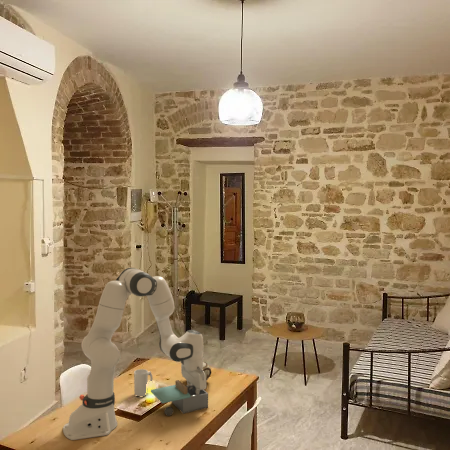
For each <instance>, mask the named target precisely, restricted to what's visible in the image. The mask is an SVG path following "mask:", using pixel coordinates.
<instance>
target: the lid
mask: <svg viewBox="0 0 450 450" xmlns="http://www.w3.org/2000/svg"><path fill="white" fill-rule="evenodd" d="M174 382H175V383H174V384H173V385H167V386H163V387H158V388H154V389H153V388H152V389H150V392H151V394H152V395H153V396H154V397H156V399H158V401H160V403H161V404H166V403H170V402H171V403H172V401H176V400H180V399H185V398H189V397H191V395H190V394H189V393H188V392H187V387H186V386H187V385H185V384H184V383H183V382H182V381H180V380H179V379H177V380H175V381H174Z"/></svg>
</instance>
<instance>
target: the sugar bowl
mask: <svg viewBox="0 0 450 450" xmlns="http://www.w3.org/2000/svg"><path fill="white" fill-rule="evenodd" d="M202 370H203V372H204V373H205V375H206V382H207V381H208V380H209V378H210V377H211V375H212V368H211V367H210V365H209V364H208V363H207V362H206V361H203V368H202Z"/></svg>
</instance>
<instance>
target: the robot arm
mask: <svg viewBox="0 0 450 450" xmlns="http://www.w3.org/2000/svg"><path fill="white" fill-rule="evenodd" d="M131 295H134V296H137V297H146V298H147V301H148V304H149V307H150V310H151V312H152V314H153V317H154V318H155V322H156V327H157V329H158V330H157V331H158V333H159V343H158V346H159V350H160V352H162V353H163V354H164V355H166V356H167V357H168V358H170V359H171V360H172V361H174V362H180V364H181V366H180V367H181V368H180V369H181V372H180V373H181V376H182V377H183V378H184V379H185V381H186V385H188V389H189V390H192V384H193V385H194V386H195V387H196V391H195V395H199V392H200V390H206V389H207V381H206V375H205V373H204V372H203V370H202V368H203V362H204V355H203V352H204V337H203V334H202V332H200V331H198V330H195V329H189V330H187V331H186V332H185V333H184V334H183V335H181V336H180V337H178V336H177V335H176V333H174V331H173V328H172V325H171V320H170V316H171V315H173V314H174V312H175V309H176V307H175V301H174V300H175V299H174V298H173V295H172V291H171V289H170V286H169V284H168V283H167V281H166V279H165V278H164V277H162V276H159V275H155V276H151V274H149V273H147V272H145V271H143V270H142V269H139V268H136V267H127V268H125V269H124V270H122V272H121V273H120V274H119V276H117V278H116V279H115V280H110V281H108V282H107V283H106V284H105V286H104V288H103V291H102V293H101V295H100V299H99V302H98V305H97V309H96V314H95V317H94V320H93V322H92V325H91V328H90V329H89V331H88V333H87V335H86V336H84V337H83V339H82V340H81V350H82V353H83V354H84V355H85V357H87V359H89V360H90V365H91V366H90V370H89V371H90V372H89V374H88V375H87V378H86V385H87V386H86V390H87V392H86V395H84V394H80V396H78V397H79V400H80V401H82V404H81V405H80V406H78V407H77V408H76V409H74V411H72V412H71V413H70V415H69V418H68V423H65V424H64V425H63V427H62V432H63V435H64V436H65V437H66V438H67V439H68V440H70V441H75V440H83V439H88V438H89V439H90V438H96V437H103V436H108V435H110V433H111V432H112V431H113V430H115V429H116V428H117V426H118V421H117V417H116V413H115V405H116V404H115V403H116V396H115V395H116V394H115V392H114V380H115V379H114V378H115V377H114V376H115V371H116V367H117V365H118V364H119V362H120V360H121V351H120V350H119V347H118V346H117V345H116V344H115V342H112V338H113V336H114V334H115V333H116V331H117V330H118V329H119V328H120V326H121V323H122V318H123V315H124V311H125V308H126V302H127V300H128V298H129V296H131Z"/></svg>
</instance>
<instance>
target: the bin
mask: <svg viewBox="0 0 450 450" xmlns="http://www.w3.org/2000/svg"><path fill="white" fill-rule="evenodd" d="M185 386H186V387H187V392H188V393H189V394H190V395H195V391H196V387H195V386H194V385H193V384H192V390H189V389H188V384H186V385H185ZM171 403H172V404H173V405H174V406H175V407H176V409H178V411H180V412H181V413H182V414H183V415H184V414H188V413H191V412H195V411H200V410H203V409H208V408H209V393H208V392H207V391H206V389H203V390H200V392H199V395H196V396H191V397H189V398H185V399H180V400H176V401H171Z"/></svg>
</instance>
